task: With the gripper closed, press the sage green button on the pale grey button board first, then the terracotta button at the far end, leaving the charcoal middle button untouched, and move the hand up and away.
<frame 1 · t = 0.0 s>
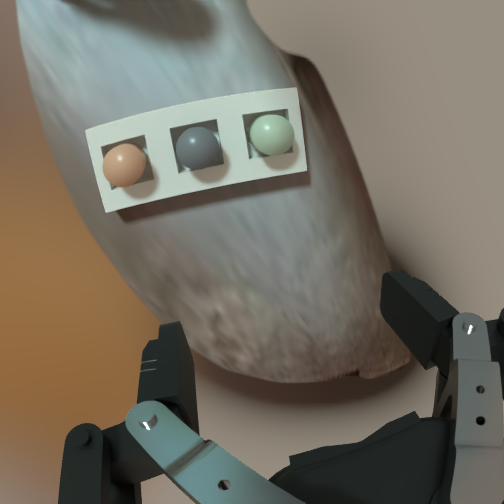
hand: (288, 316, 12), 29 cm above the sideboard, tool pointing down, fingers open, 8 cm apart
charcoal button: (197, 147, 33), point 4 cm above the sideboard, slide at 0.0 cm
button board: (196, 143, 36), on the sideboard
terracotta button: (125, 164, 32), point 4 cm above the sideboard, slide at 0.0 cm
sage button: (270, 134, 33), point 4 cm above the sideboard, slide at 0.0 cm
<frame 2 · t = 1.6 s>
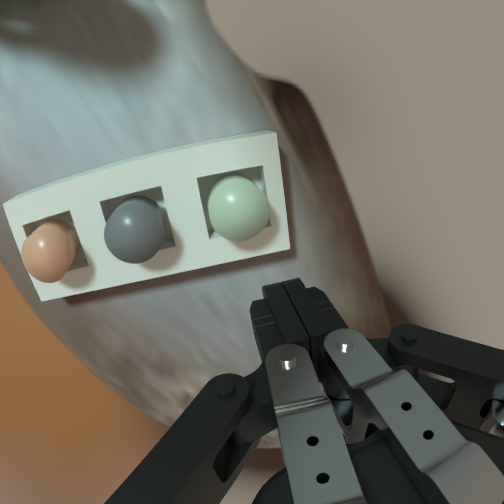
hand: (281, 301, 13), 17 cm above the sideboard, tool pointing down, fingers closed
charcoal button: (135, 228, 24), point 4 cm above the sideboard, slide at 0.0 cm
button board: (142, 212, 27), on the sideboard
terracotta button: (50, 250, 23), point 4 cm above the sideboard, slide at 0.0 cm
sage button: (237, 206, 24), point 4 cm above the sideboard, slide at 0.0 cm
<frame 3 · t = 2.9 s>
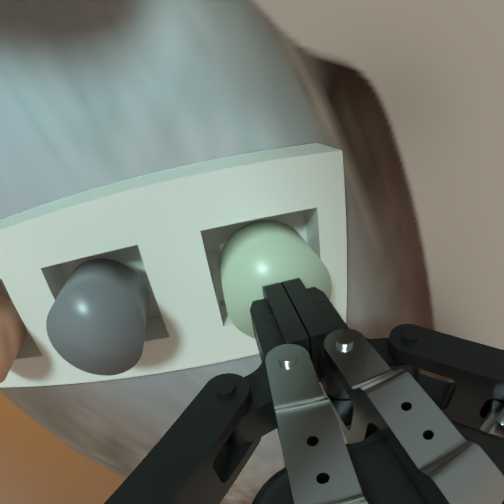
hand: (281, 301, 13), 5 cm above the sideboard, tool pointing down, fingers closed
charcoal button: (100, 317, 13), point 4 cm above the sideboard, slide at 0.0 cm
button board: (115, 275, 17), on the sideboard
sage button: (271, 278, 14), point 4 cm above the sideboard, slide at 0.2 cm, touching gripper
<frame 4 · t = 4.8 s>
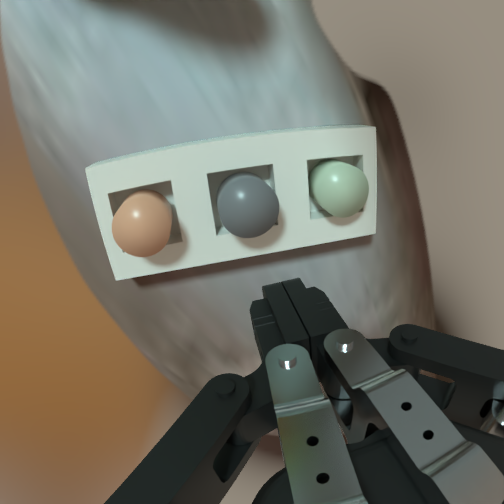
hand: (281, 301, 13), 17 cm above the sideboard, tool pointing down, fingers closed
charcoal button: (246, 203, 25), point 4 cm above the sideboard, slide at 0.0 cm
button board: (238, 191, 28), on the sideboard
terracotta button: (143, 222, 24), point 4 cm above the sideboard, slide at 0.0 cm
sage button: (337, 187, 26), point 3 cm above the sideboard, slide at 0.9 cm
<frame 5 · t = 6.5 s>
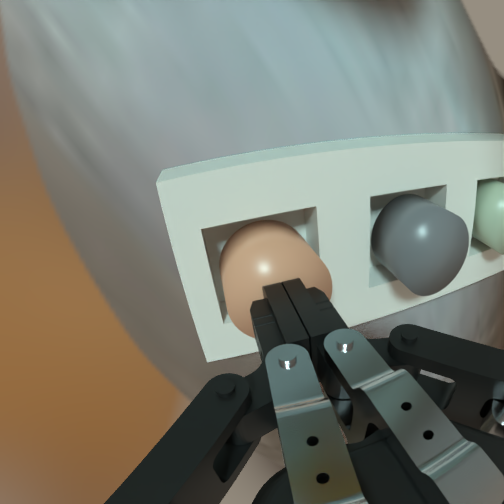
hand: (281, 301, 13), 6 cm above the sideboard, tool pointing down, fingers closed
charcoal button: (420, 243, 15), point 4 cm above the sideboard, slide at 0.0 cm
button board: (382, 217, 19), on the sideboard
terracotta button: (272, 279, 14), point 4 cm above the sideboard, slide at 0.1 cm, touching gripper
sage button: (497, 214, 17), point 3 cm above the sideboard, slide at 0.9 cm
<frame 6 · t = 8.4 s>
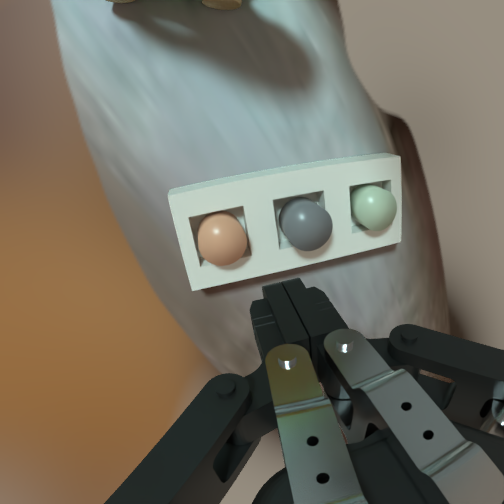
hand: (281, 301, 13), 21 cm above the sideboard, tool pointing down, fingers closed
charcoal button: (304, 223, 30), point 4 cm above the sideboard, slide at 0.0 cm
button board: (292, 211, 34), on the sideboard
terracotta button: (221, 237, 31), point 3 cm above the sideboard, slide at 0.9 cm
sage button: (372, 206, 32), point 3 cm above the sideboard, slide at 0.9 cm
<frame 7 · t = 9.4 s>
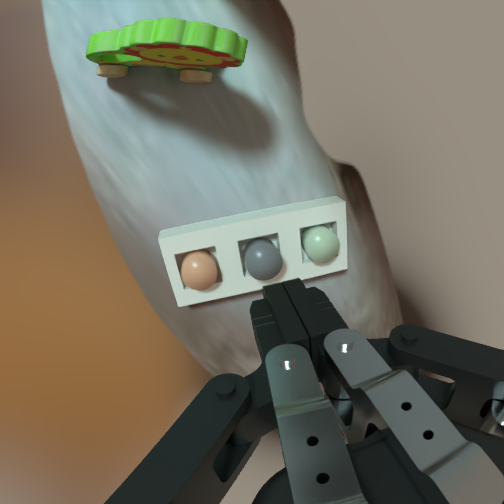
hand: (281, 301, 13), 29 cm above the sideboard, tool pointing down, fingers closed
toy lion: (166, 61, 32), on the sideboard
charcoal button: (262, 258, 40), point 4 cm above the sideboard, slide at 0.0 cm
button board: (256, 246, 44), on the sideboard
terracotta button: (198, 268, 40), point 3 cm above the sideboard, slide at 0.9 cm
sage button: (319, 242, 42), point 3 cm above the sideboard, slide at 0.9 cm
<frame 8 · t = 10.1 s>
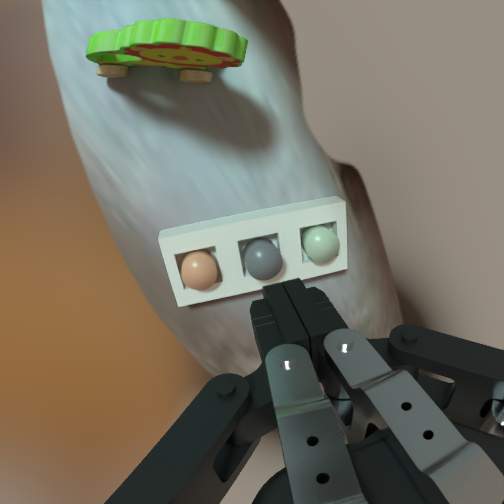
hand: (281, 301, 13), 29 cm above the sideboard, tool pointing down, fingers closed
toy lion: (166, 61, 32), on the sideboard
charcoal button: (262, 258, 40), point 4 cm above the sideboard, slide at 0.0 cm
button board: (256, 246, 44), on the sideboard
terracotta button: (198, 268, 40), point 3 cm above the sideboard, slide at 0.9 cm
sage button: (319, 242, 42), point 3 cm above the sideboard, slide at 0.9 cm
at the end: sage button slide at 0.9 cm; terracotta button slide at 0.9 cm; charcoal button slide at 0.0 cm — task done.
